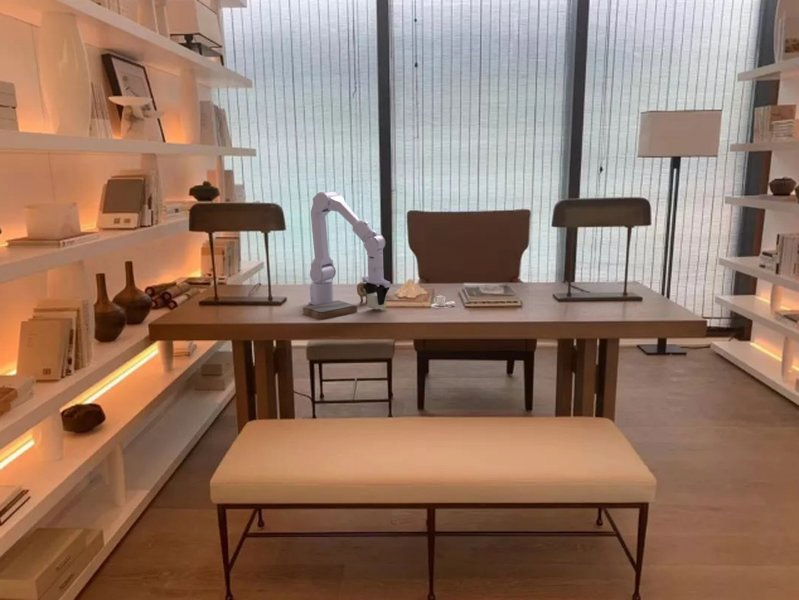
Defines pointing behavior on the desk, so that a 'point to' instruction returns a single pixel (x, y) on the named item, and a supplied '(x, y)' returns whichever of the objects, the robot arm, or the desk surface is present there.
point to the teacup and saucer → (442, 302)
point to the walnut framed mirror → (329, 309)
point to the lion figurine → (362, 291)
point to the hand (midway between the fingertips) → (376, 303)
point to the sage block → (374, 301)
